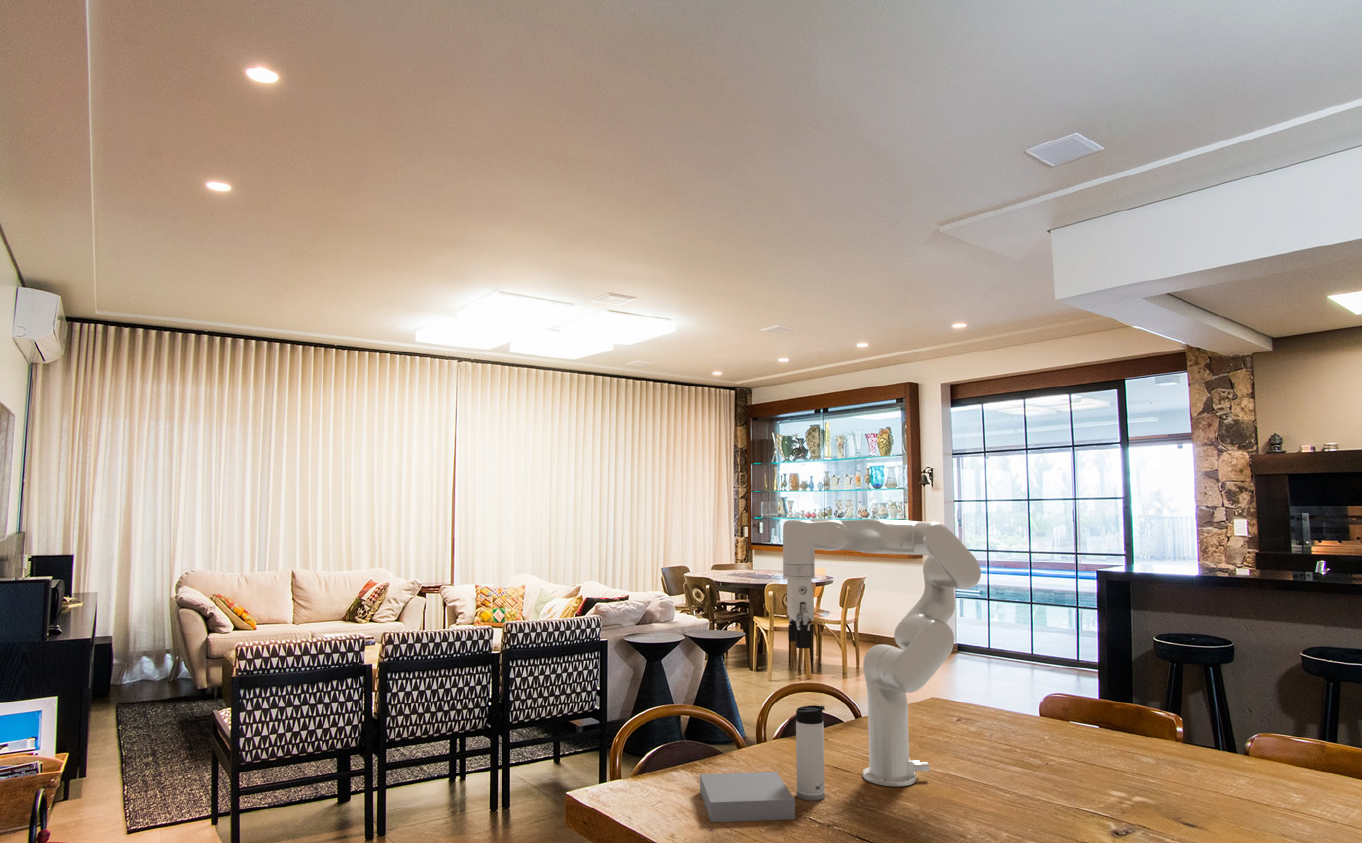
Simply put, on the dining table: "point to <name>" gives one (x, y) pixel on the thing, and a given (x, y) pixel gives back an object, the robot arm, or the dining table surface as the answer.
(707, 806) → the plinth
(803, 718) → the travel mug
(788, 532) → the robot arm
